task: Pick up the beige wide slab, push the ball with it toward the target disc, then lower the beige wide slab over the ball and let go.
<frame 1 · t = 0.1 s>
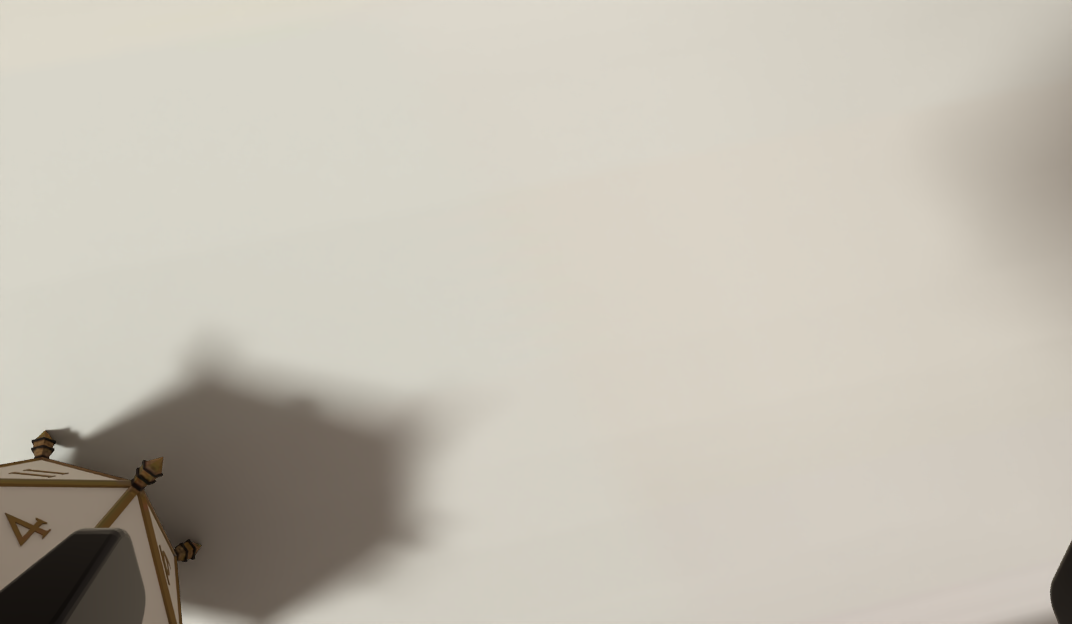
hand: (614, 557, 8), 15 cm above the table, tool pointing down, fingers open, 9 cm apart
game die: (95, 521, 25), on the table
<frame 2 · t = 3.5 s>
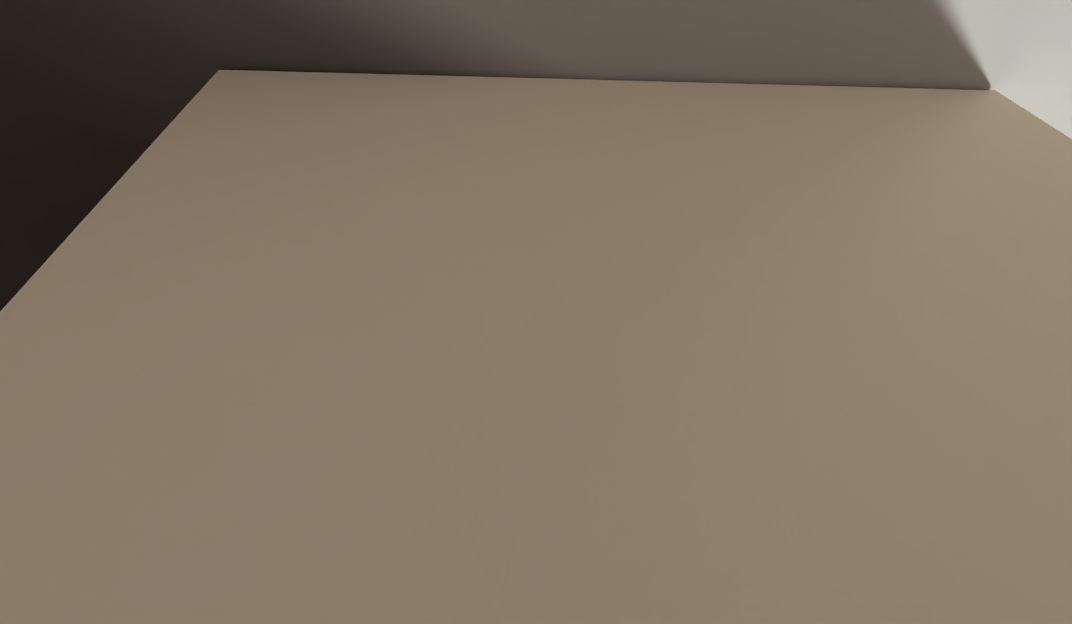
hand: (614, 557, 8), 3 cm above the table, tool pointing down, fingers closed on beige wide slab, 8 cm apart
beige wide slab: (589, 395, 11), on the table, touching gripper
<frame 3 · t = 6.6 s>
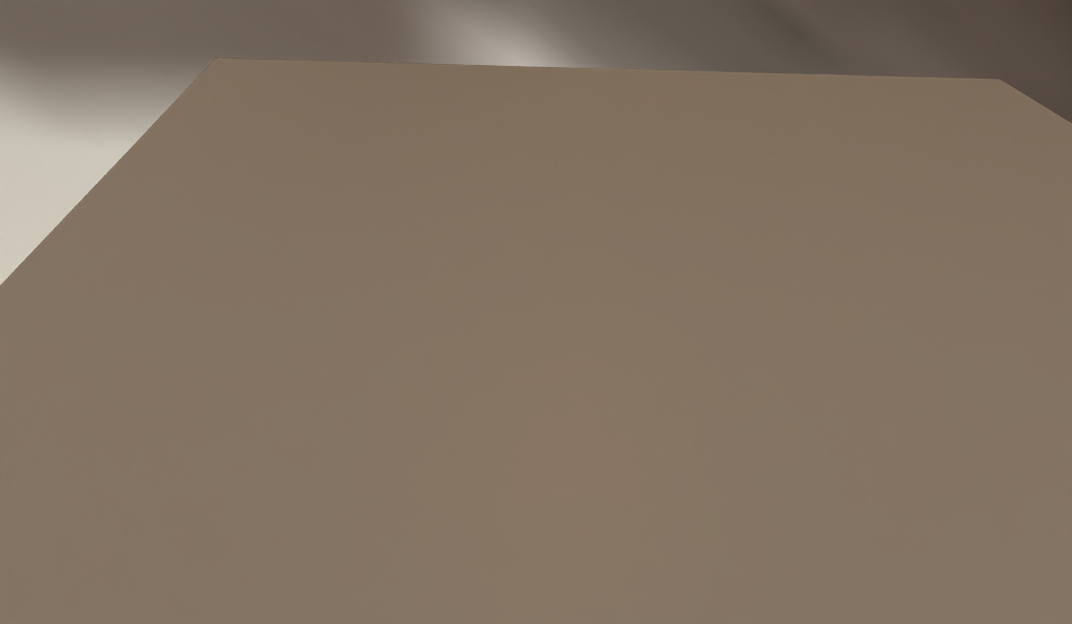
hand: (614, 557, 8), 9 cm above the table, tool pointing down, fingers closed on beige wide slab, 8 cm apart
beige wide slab: (589, 388, 11), point 7 cm above the table, touching gripper
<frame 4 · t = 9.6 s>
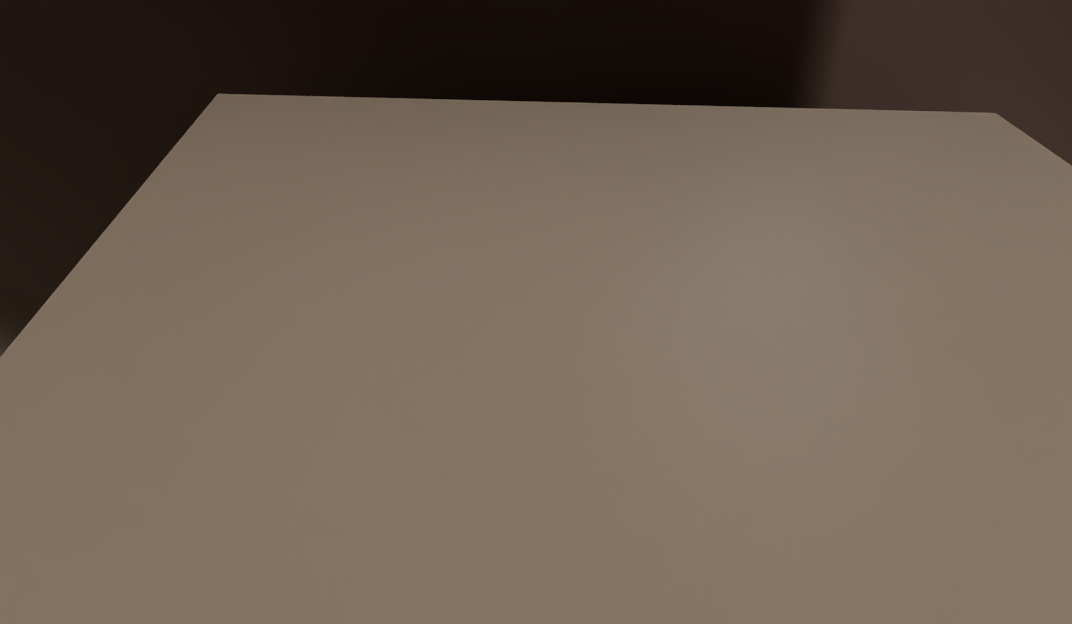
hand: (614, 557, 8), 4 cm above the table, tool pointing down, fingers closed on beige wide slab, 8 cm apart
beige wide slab: (588, 413, 11), point 2 cm above the table, touching gripper
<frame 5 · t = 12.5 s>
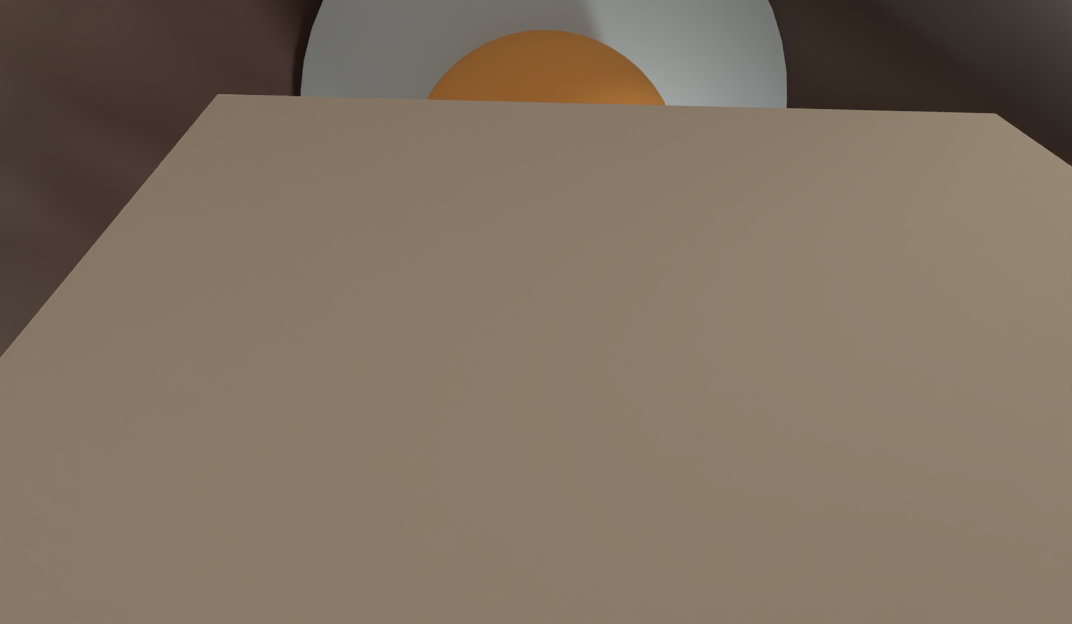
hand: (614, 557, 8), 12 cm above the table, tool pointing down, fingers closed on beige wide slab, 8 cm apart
ball: (544, 171, 17), on the table
target disc: (545, 125, 19), on the table
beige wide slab: (588, 414, 11), point 10 cm above the table, touching gripper
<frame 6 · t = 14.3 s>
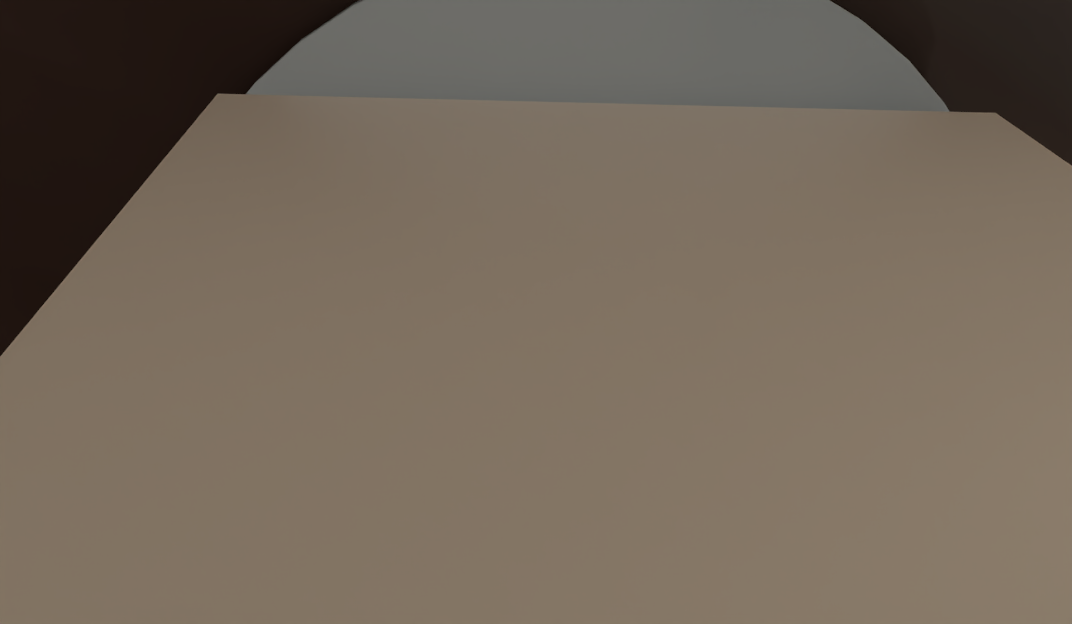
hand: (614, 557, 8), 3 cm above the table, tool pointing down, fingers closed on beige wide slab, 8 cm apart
target disc: (581, 369, 11), on the table
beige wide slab: (588, 413, 11), point 1 cm above the table, touching gripper
when the fingers open (3 cm above the table, at t = 14.8 s): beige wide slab stays where it is, on the table.
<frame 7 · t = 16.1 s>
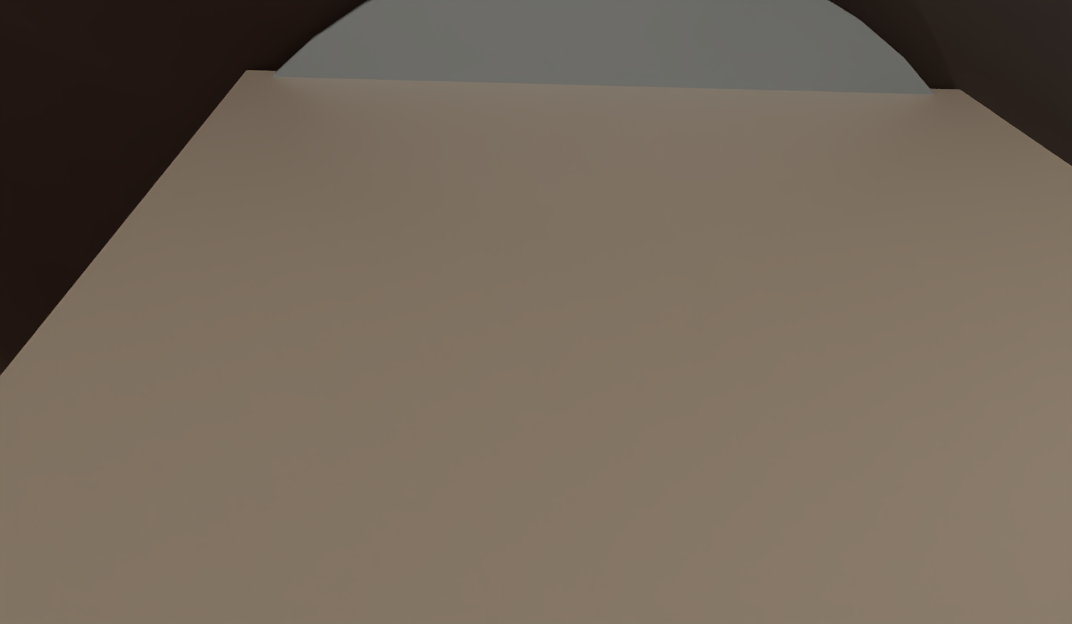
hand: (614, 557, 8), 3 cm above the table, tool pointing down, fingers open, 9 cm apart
target disc: (584, 360, 11), on the table
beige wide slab: (586, 373, 11), on the table
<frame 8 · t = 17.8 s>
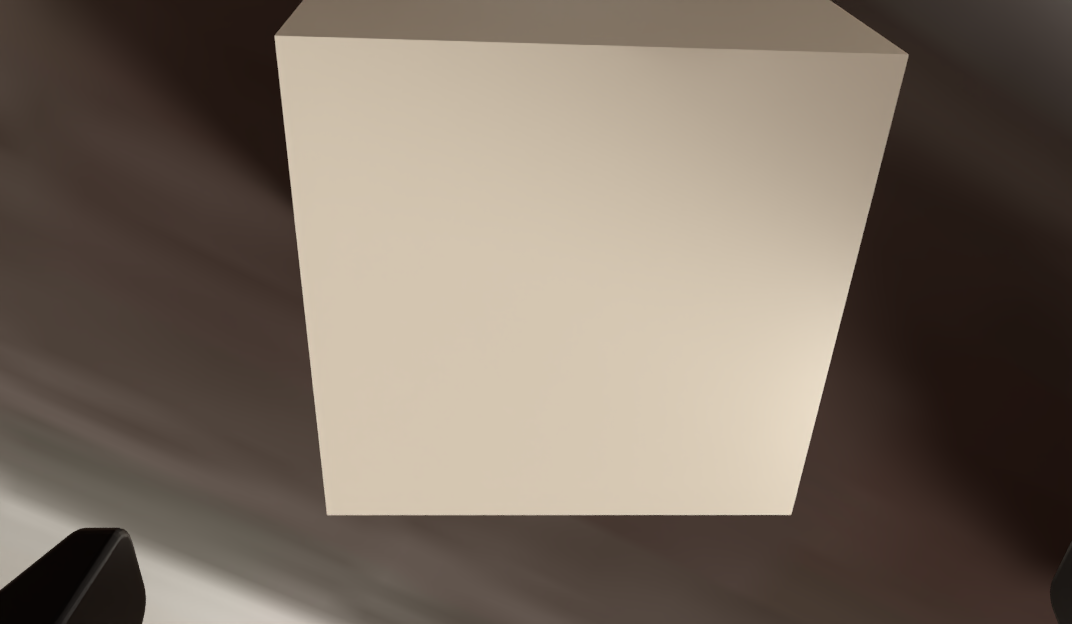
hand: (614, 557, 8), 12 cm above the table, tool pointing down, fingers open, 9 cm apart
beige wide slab: (547, 127, 19), on the table
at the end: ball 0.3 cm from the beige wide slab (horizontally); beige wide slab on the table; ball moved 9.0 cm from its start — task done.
